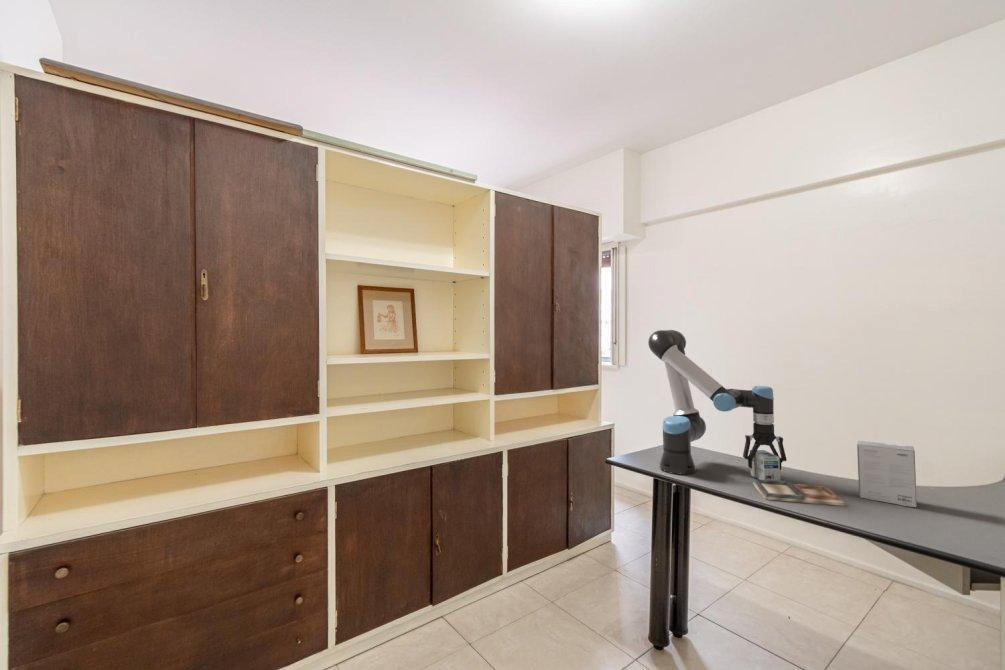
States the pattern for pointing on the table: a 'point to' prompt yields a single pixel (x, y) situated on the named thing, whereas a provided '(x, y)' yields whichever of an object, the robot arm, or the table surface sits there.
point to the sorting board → (797, 492)
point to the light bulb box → (766, 465)
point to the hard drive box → (887, 473)
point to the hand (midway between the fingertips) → (764, 476)
